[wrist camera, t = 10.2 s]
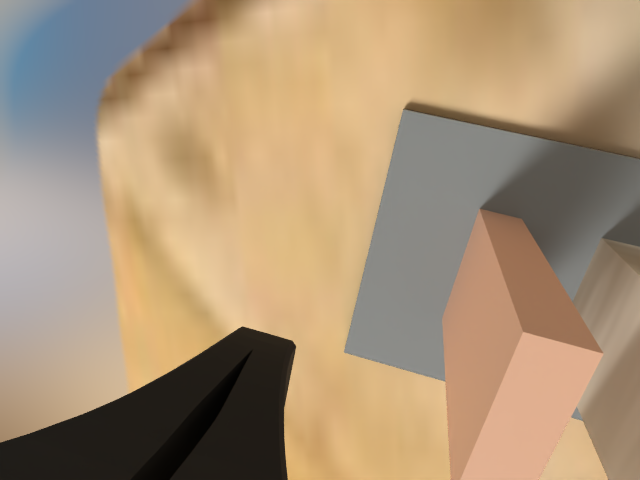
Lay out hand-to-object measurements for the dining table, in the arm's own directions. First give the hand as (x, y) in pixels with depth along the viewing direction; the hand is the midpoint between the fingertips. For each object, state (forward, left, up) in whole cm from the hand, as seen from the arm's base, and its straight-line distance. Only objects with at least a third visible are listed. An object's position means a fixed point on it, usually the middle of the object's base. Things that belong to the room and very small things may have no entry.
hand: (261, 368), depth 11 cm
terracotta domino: (+4, -4, -9) cm, 11 cm away
